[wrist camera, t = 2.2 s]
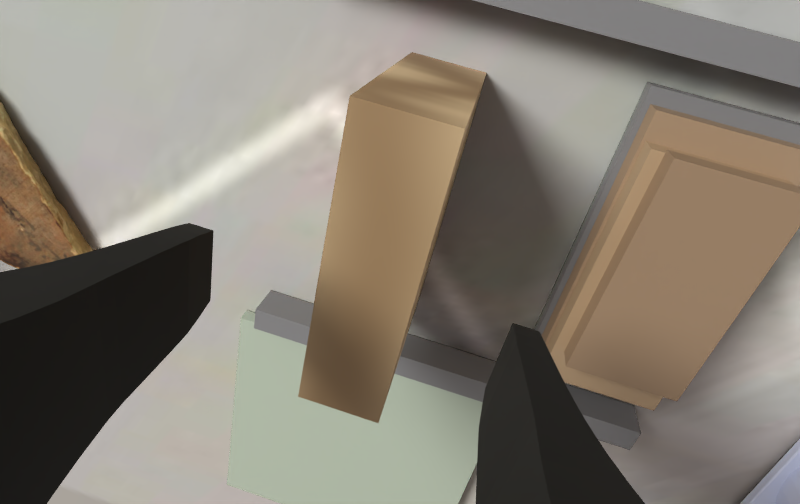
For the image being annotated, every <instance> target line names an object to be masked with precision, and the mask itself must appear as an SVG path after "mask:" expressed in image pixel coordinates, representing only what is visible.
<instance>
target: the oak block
mask: <svg viewBox="0 0 800 504" xmlns="http://www.w3.org/2000/svg"><path fill="white" fill-rule="evenodd" d="M485 76H486V73H485V72H481V71H478V70H474V69H471V68H467V67H463V66H460V65H456V64H452V63H449V62H445V61H442V60H438V59H434V58H431V57H427V56H424V55H420V54H416V53H413V52H412V53H410V54H409V55H407V56H406V57H405V58H403V59H402V60H400V61H399V62H397V63H396V64H395V65H393V66H392V67H390V68H389V69H388V70H386V71H385V72H383V73H382V74H380V75H379V76H378V77H376V78H375V79H373V80H372V81H370V82H369V83H368V84H366V85H365V86H363V87H362V88H360V89H359V90H358V91H356V92H355V93H353V94H352V95H350V98H349V104H348V110H347V115H346V121H345V127H344V133H343V139H342V144H341V150H340V156H339V162H338V168H337V173H336V179H335V185H334V191H333V197H332V202H331V208H330V214H329V220H328V226H327V231H326V237H325V243H324V249H323V255H322V260H321V266H320V272H319V278H318V284H317V289H316V295H315V301H314V307H313V313H312V318H311V324H310V330H309V336H308V342H307V347H306V353H305V359H304V365H303V371H302V376H301V382H300V388H299V394H298V397H301V398H304V399H307V400H310V401H313V402H316V403H319V404H322V405H325V406H328V407H331V408H334V409H337V410H340V411H343V412H346V413H349V414H352V415H355V416H358V417H361V418H364V419H367V420H370V421H373V422H376V423H379V420H380V417H381V414H382V411H383V408H384V405H385V402H386V398H387V395H388V392H389V389H390V386H391V383H392V380H393V377H394V374H395V371H396V368H397V365H398V362H399V358H400V355H401V352H402V349H403V346H404V343H405V340H406V337H407V334H408V331H409V328H410V325H411V321H412V318H413V315H414V312H415V309H416V306H417V303H418V300H419V297H420V294H421V290H422V287H423V284H424V280H425V277H426V274H427V270H428V267H429V264H430V260H431V257H432V253H433V250H434V247H435V243H436V240H437V237H438V233H439V230H440V227H441V223H442V220H443V217H444V213H445V210H446V207H447V203H448V200H449V197H450V193H451V190H452V187H453V183H454V180H455V177H456V173H457V170H458V167H459V163H460V160H461V157H462V153H463V150H464V147H465V143H466V140H467V137H468V133H469V130H470V127H471V123H472V120H473V117H474V113H475V110H476V107H477V103H478V100H479V96H480V93H481V90H482V86H483V83H484V80H485Z"/></svg>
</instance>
